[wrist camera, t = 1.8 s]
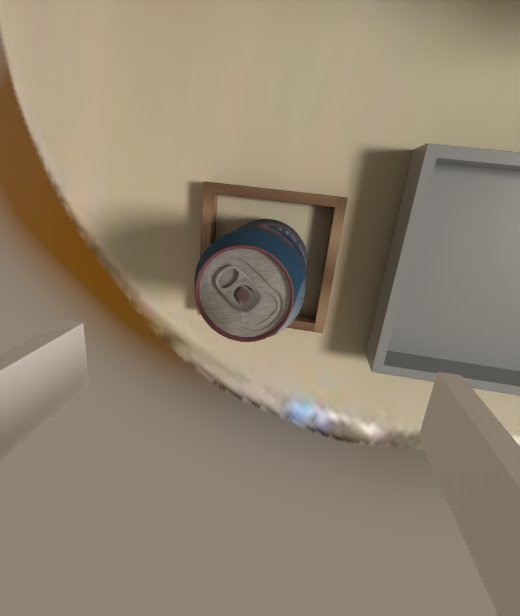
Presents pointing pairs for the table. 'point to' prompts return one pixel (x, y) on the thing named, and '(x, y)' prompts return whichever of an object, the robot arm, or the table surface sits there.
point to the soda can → (252, 281)
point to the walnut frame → (288, 196)
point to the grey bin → (453, 272)
